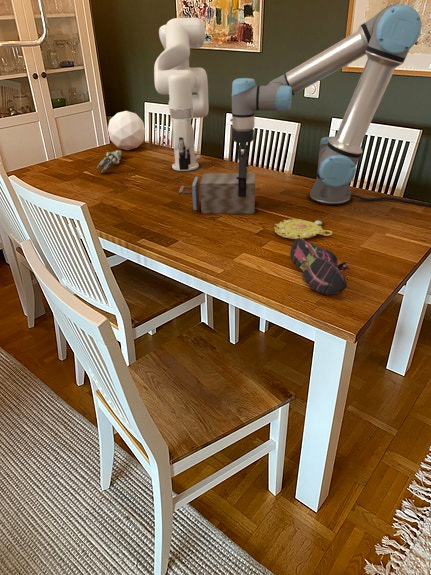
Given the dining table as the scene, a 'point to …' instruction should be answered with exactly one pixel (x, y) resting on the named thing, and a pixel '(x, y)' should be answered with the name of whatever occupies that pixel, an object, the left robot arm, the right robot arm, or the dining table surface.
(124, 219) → the dining table surface
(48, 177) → the dining table surface
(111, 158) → the figurine
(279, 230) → the decorative object
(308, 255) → the athletic shoe
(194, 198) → the drawer
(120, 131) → the sphere
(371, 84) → the right robot arm
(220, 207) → the cabinet
